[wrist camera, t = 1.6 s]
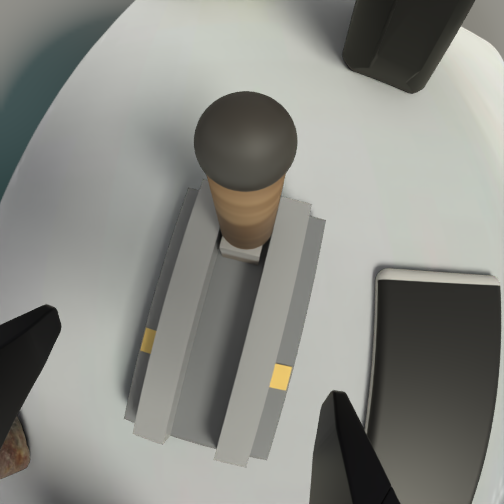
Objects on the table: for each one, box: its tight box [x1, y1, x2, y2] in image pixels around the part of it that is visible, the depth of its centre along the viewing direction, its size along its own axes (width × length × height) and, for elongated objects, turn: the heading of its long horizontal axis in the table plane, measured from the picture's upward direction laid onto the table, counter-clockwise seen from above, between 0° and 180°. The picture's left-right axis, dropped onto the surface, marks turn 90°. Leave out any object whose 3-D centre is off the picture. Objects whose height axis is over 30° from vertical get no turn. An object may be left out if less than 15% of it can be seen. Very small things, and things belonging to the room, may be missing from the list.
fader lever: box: [194, 91, 297, 265], centre depth 15 cm, size 4×4×13 cm
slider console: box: [124, 179, 326, 467], centre depth 20 cm, size 17×10×4 cm, turn 166°
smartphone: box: [364, 268, 501, 504], centre depth 20 cm, size 13×27×2 cm, turn 175°
